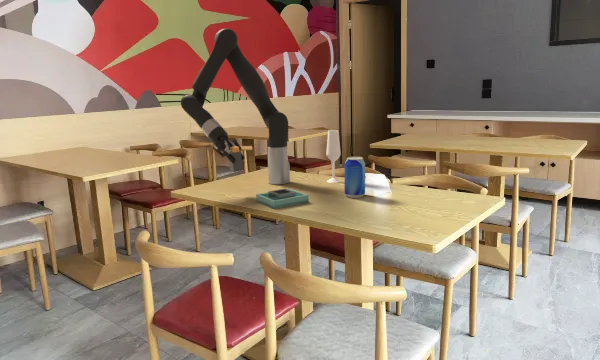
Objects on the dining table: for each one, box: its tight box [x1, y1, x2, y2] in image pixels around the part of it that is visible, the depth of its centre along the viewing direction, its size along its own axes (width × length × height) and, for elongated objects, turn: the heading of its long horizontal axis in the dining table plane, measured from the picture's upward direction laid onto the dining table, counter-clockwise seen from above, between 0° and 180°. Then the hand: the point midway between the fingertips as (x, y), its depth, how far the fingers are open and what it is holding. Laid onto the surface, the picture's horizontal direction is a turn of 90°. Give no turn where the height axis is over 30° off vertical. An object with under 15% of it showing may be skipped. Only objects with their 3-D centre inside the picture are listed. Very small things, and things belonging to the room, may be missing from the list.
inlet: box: [268, 188, 296, 200], centre depth 195 cm, size 8×8×3 cm
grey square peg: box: [228, 146, 243, 173], centre depth 207 cm, size 4×4×10 cm
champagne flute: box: [325, 129, 341, 184], centre depth 228 cm, size 7×7×24 cm
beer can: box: [344, 156, 366, 199], centre depth 201 cm, size 8×8×16 cm
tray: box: [255, 188, 310, 210], centre depth 195 cm, size 16×14×3 cm
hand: (238, 160), depth 206 cm, fingers closed on grey square peg, 5 cm apart
